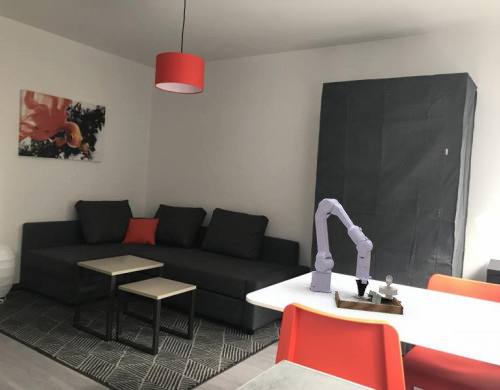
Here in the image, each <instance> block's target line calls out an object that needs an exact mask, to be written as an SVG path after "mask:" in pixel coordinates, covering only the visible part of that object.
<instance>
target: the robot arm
mask: <svg viewBox="0 0 500 390" xmlns="http://www.w3.org/2000/svg"><path fill="white" fill-rule="evenodd" d="M331 215H334V216H337V217H338V218H339V220H340V221H341V222H342V224H343V225H344V226H345V227H346V228H347V235H348V236H349V237H350V238H351V240H352V242H353V243H354V244H355V245H356V250H357V261H356V272H355V273H356V274H355V278H356V279H355V283H356V286H357V294H358V297H364V296H365V294H366V290H367V287H368V286H369V284H370V283H369V280H372V278H373V277H372V276H371V275H370V269H371V252H372V250H373V248H374V244H373V243H372V240H370V239H369V238H368V236H365V233H364V232H363V230H362V228H361V227H359V226H358V225H355V224H354V222H353V221H352V219H350V216H349V215H348V214H347V213H346V211H345V210H344V208H343V206H342V204H340V202H339V201H338V200H337V199H336V198H324V199H321V201H320V202H318V207H317V209H316V212H315V213H314V221H315V233H316V241H317V243H316V244H317V254H316V256H315V262H314V268H315V270H312V271H311V281H310V285H309V286H310V290H311V291H312V292H320V293H329V294H330V293H332V289H331V284H332V269H333V268H334V266H335V262H334V260H333V257H332V253H331V251H330V245H329V233H328V222H327V219H328V218H329V217H330V216H331Z"/></svg>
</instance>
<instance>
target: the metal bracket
mask: <svg viewBox="0 0 500 390" xmlns="http://www.w3.org/2000/svg"><path fill="white" fill-rule="evenodd" d="M365 294H366V295H367V296H370V297H372V300H371V303H374V304H382V303H381V302H382V299H384V300H389V301H392V300H393V295H388V294H387V293H386V294H385V296H382V295H381V294H380V293H379V292H377V291H374V290H371V289H370V290H369V292H365ZM398 301H399V302H400V303H402V301H401V300H398Z"/></svg>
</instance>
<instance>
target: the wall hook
mask: <svg viewBox="0 0 500 390" xmlns="http://www.w3.org/2000/svg"><path fill="white" fill-rule="evenodd" d="M392 283H393V277H392V275H386V277H385V284H386V285H379V287H378V294H382V295H386V293H387V294H388V295H392V296H397V295H398V291H399V289H398V288H397V287H394V286H391V285H392Z"/></svg>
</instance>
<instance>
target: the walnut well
mask: <svg viewBox="0 0 500 390" xmlns="http://www.w3.org/2000/svg"><path fill="white" fill-rule="evenodd" d="M334 299H335V303H336V307H337V308H340V309H348V310H355V311H356V310H358V311H365V312H366V311H367V312H377V313H383V314H384V313H385V314H393V315H394V314H396V315H404V306H403V304H402V303H401V302H399V301H400V300H398V299H397V298H396V297H395V296H392V299H393V300H391V304H385V303H384V304H383V303H380V304H375V303H372V302H363V301H353V300H343V299H341V296H340V295H339V292H338V290H337V291H336V290H335V293H334Z"/></svg>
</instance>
